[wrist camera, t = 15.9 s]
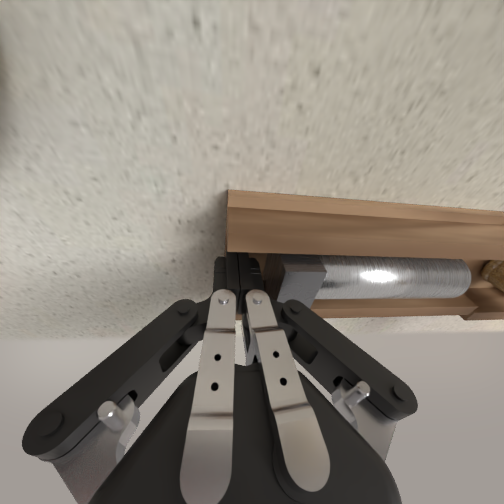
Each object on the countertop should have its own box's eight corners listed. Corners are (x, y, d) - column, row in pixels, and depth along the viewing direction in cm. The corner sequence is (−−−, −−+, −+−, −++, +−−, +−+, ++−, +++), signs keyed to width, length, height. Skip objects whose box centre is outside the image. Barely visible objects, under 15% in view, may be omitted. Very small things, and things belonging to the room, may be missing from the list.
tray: (228, 186, 13) (229, 217, 10) (583, 215, 18) (660, 242, 15) (223, 287, 18) (222, 327, 15) (492, 288, 23) (533, 318, 20)
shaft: (272, 231, 14) (286, 271, 11) (443, 239, 16) (496, 274, 13) (262, 276, 17) (271, 319, 13) (410, 278, 19) (447, 315, 16)
